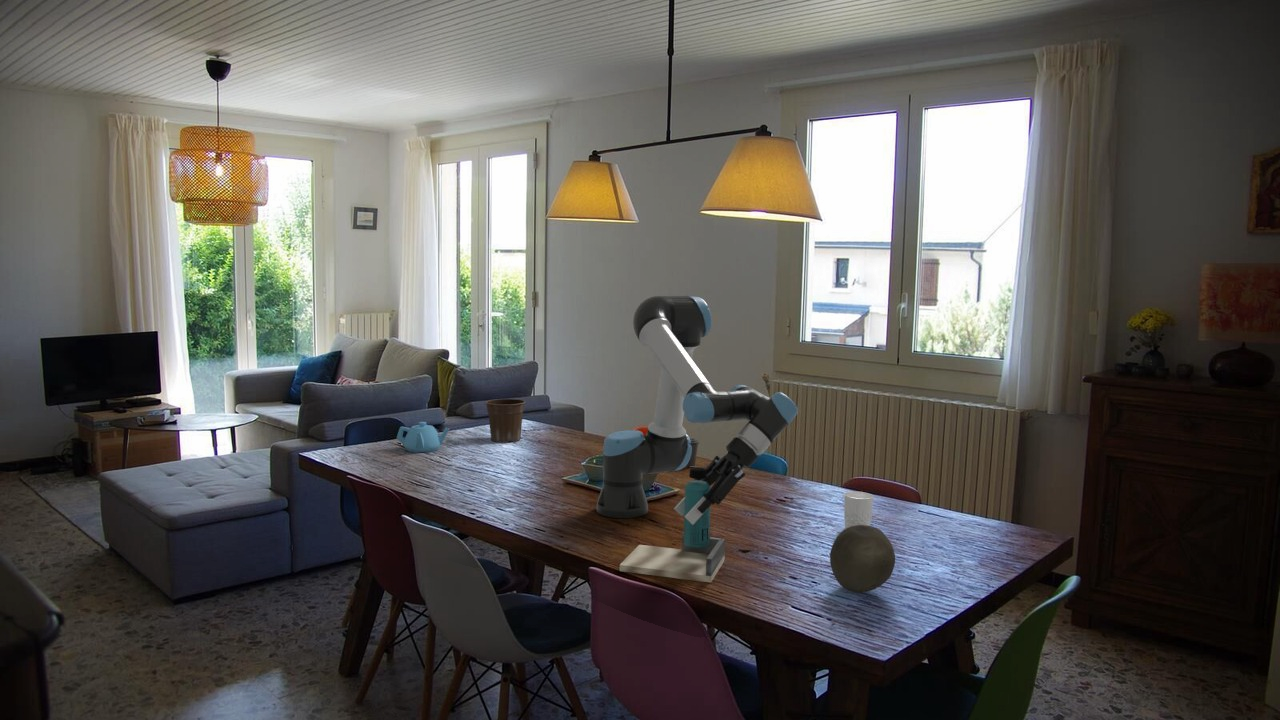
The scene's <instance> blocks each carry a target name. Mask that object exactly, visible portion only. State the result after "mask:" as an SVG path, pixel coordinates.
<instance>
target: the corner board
mask: <svg viewBox="0 0 1280 720" xmlns="http://www.w3.org/2000/svg"><path fill="white" fill-rule="evenodd" d="M683 540H684V535H683V534H682V535H681V548H672V547H664V546H655V545H646V544H645V545H644V544H638V545H637V546H636V548H634V549H633V551H631V552H630V553H629V554H628V556H627V557H626V558H625V559H624V560H623V561H622V562H621V563H620V564H619V572H624V573H633V574H639V575H648V576H649V575H650V576H656V577H664V578H670V579H671V578H673V579H679V580H688V581H695V582H703V583H710V584H711V583H712V581H713V580H714V578H715V576H716V575H717V573H718V572H719V570H720V569H721V567H722V565H723V564H724V562H725V555H726V553H725V552H726V538H723V537H722V538H721V537H714V536H713V537H711V536H710V541H709V545H708V546H706V547H701V548H696V547H689V546H687V545H685V543H684V541H683Z"/></svg>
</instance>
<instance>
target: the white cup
mask: <svg viewBox="0 0 1280 720" xmlns="http://www.w3.org/2000/svg"><path fill="white" fill-rule="evenodd" d="M843 496H844V498H843V499H844V501H843V503H844V505H843V506H844V507H843V509H844V510H843V511H844V513H843V515H844V517H843V518H844V530H845V529H846V528H848V527H851V526H855V525H868V526H871V523H872V517H873V515H872V514H873V507H874V495H873V494H872V493H868V492H863V491H846V492H844V494H843Z"/></svg>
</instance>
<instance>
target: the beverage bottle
mask: <svg viewBox="0 0 1280 720" xmlns="http://www.w3.org/2000/svg"><path fill="white" fill-rule="evenodd" d="M705 468H706V467H701V466H697V467H696V466H695V467H692V468H689V478H691V479H693V480H690V481H688V482H687V483H686V485H684V497H685V512H684V515H683V534H682V535H684V540H683V541H684V543H685V545H687V546H689V547H696V548H701V547H706V546H708V545H709V541H710V537H711V511H712V510H711V507H712V505H711V506H710V507H709V508H708V509H707V510H706V511H705V512H704V513H703V515H702V516H701V517H700V518H699V519H698V520H697V521H696V522H695V523H694V524H693V525H692V524H691V523H690V522H689V521H688V520H687V519H686V518H685V516H686V514H687V513H688V512H689V511H690V510H691V509H692V508H693V507H694V506H695V505H696V504H697V502H698V501H699V500H700V499H701V498H702V497H704V494H708V492H709V491H710V489H711V488H712V487H711V486H710V485H709V484H708V483H707V482H705V481H700V480H694V479H704V478H706V477H707V475H706V469H705Z"/></svg>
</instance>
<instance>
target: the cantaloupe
mask: <svg viewBox="0 0 1280 720" xmlns="http://www.w3.org/2000/svg"><path fill="white" fill-rule="evenodd" d="M829 561H830V563H829V564H830V569H831V571H832V574H833V576H834V578H835V580H836V581H837V583H838V584H839V585H840V586H841V587H842V588H843V589H845V590H847V591H849V592H852V593H856V594H857V593H858V594H859V593H860V594H862V593H869V592H871V591H873V590H876V589H878V588H879V587H881V586H882V585H884V584H885V583H886V582H887V581H888V580H889V579H890V578H891V576H892V574H893V572H894V568H895V564H896V553H895V549H894V547H893V544H892V542H891V541H890V539H889V538H888V537H887V535H886V534H885V533H884V532H883V531H882V530H881V529H880V528H877V527H875V526H873V525H870V526H868V525H855V526H851V527H848V528H846V529H845V528H844V529H843V530H842V531H840V533H839V534H838V535H837V536H836V538H835V539H834V541H833V543H832V545H831V548H830V553H829Z"/></svg>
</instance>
